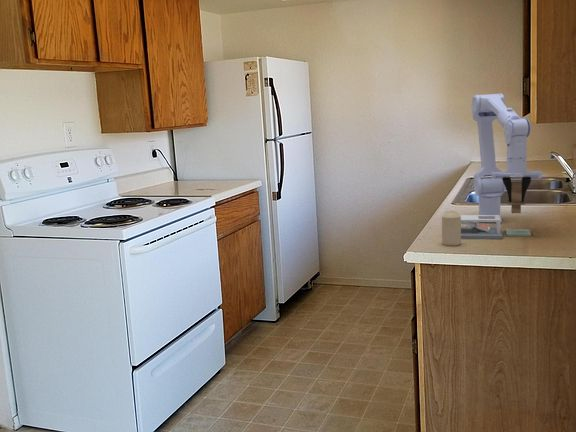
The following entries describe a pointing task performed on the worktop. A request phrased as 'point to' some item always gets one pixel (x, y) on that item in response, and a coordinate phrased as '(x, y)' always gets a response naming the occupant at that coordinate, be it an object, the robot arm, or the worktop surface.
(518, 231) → the mat
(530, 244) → the worktop surface
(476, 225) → the rocker switch
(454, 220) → the candle
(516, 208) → the brown block
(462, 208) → the worktop surface
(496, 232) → the breaker housing
